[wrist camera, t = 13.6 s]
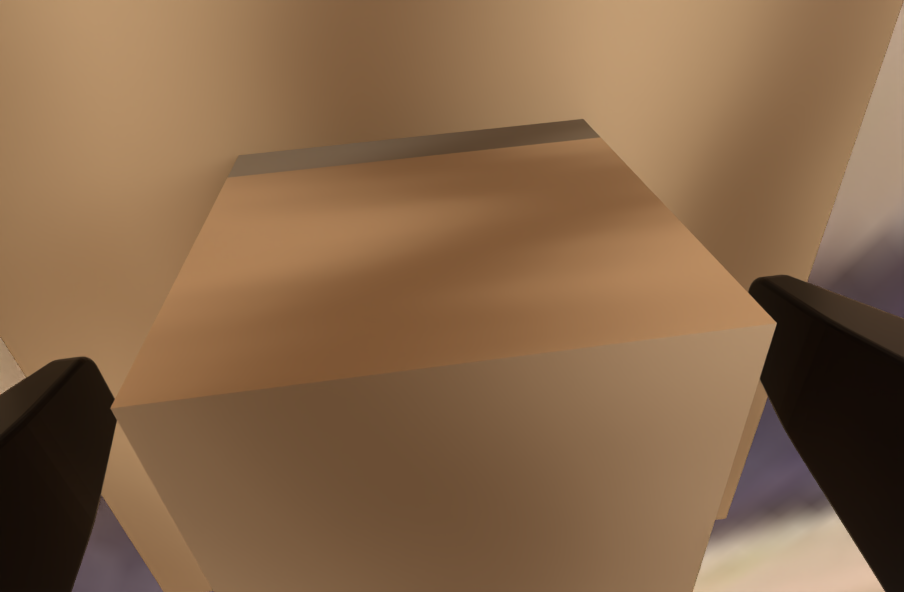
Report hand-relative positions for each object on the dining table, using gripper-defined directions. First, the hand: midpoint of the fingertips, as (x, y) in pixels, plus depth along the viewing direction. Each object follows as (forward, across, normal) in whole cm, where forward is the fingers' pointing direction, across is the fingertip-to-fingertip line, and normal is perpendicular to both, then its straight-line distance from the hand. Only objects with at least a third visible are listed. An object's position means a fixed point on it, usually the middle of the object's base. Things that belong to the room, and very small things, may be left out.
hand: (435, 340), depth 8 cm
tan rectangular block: (+2, 0, +1) cm, 2 cm away
